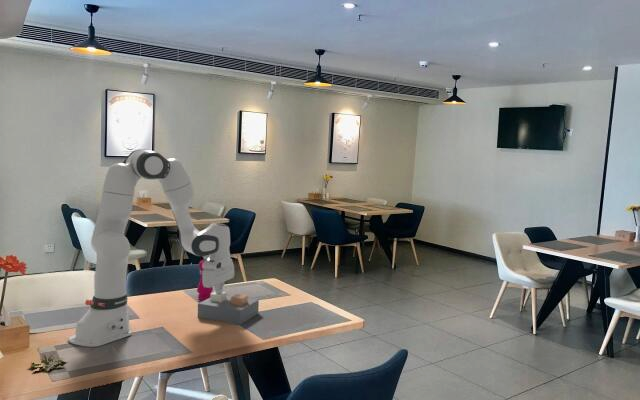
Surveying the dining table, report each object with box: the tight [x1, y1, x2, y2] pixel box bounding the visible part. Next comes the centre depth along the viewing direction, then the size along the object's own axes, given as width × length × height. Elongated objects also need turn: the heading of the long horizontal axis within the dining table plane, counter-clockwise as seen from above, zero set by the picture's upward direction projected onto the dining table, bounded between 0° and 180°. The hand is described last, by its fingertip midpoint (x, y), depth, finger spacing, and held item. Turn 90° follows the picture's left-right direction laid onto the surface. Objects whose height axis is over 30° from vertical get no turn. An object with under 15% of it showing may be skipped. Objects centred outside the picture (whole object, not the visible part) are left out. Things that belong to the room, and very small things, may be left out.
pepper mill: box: [196, 256, 214, 301], centre depth 239 cm, size 7×7×20 cm
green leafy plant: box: [29, 351, 65, 371], centre depth 163 cm, size 12×12×5 cm
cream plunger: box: [210, 291, 228, 303], centre depth 219 cm, size 5×5×5 cm
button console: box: [197, 294, 260, 325], centre depth 217 cm, size 16×20×6 cm
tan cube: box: [231, 293, 249, 306], centre depth 215 cm, size 5×5×5 cm
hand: (219, 292), depth 218 cm, fingers closed
